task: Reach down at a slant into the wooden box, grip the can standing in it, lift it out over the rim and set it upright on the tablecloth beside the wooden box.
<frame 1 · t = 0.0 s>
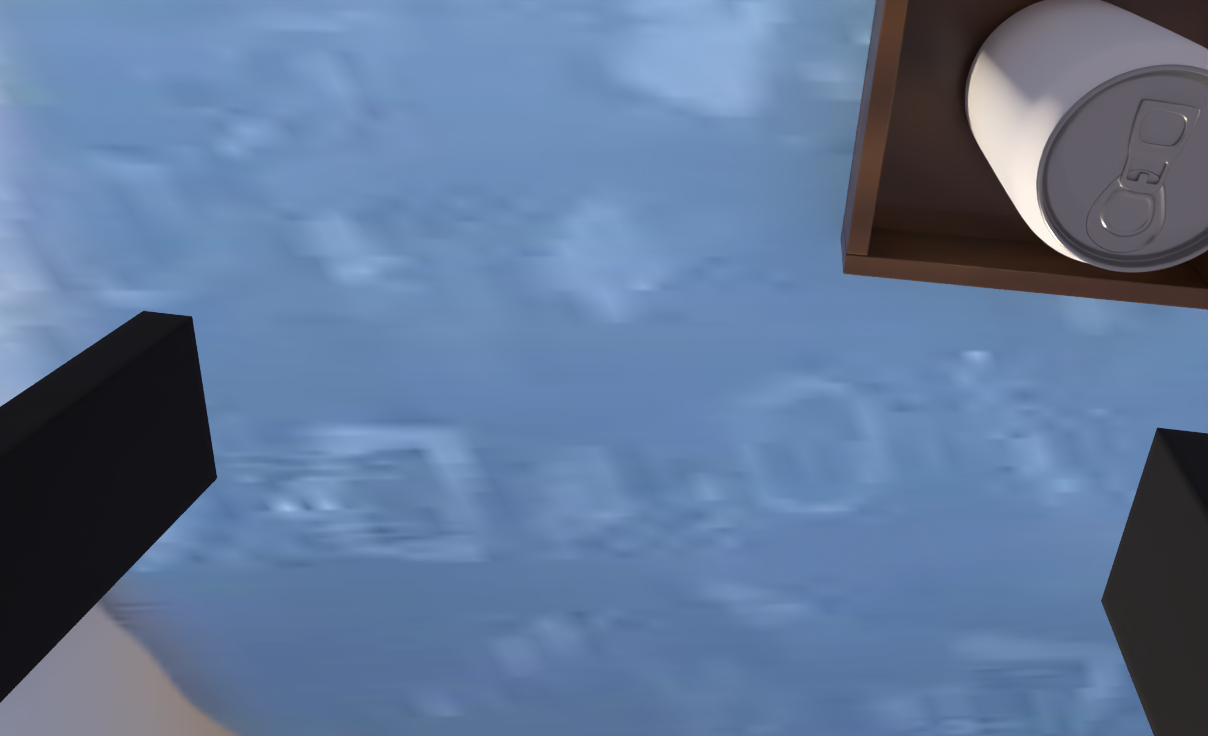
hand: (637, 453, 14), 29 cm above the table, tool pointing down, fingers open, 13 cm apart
wooden box: (1051, 83, 38), on the table
can: (1053, 85, 38), resting on wooden box
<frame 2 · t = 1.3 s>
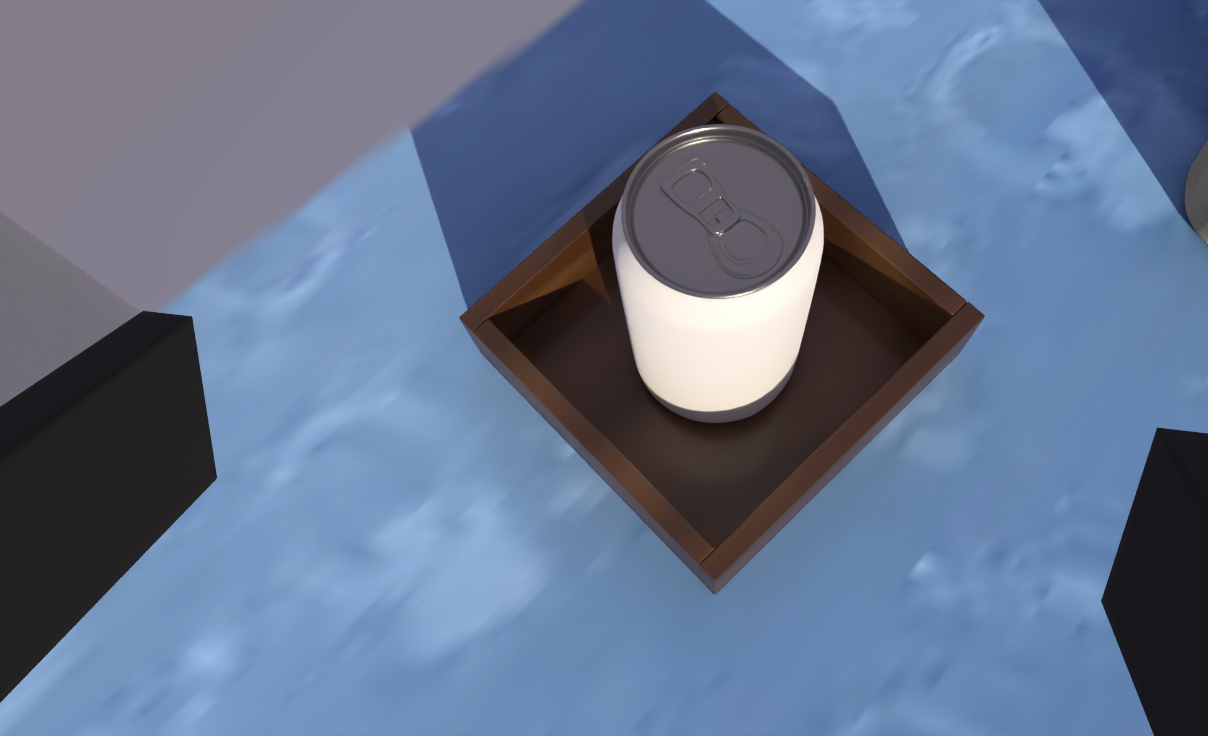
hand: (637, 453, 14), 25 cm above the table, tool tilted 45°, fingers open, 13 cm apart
wooden box: (714, 352, 41), on the table
can: (714, 350, 41), resting on wooden box
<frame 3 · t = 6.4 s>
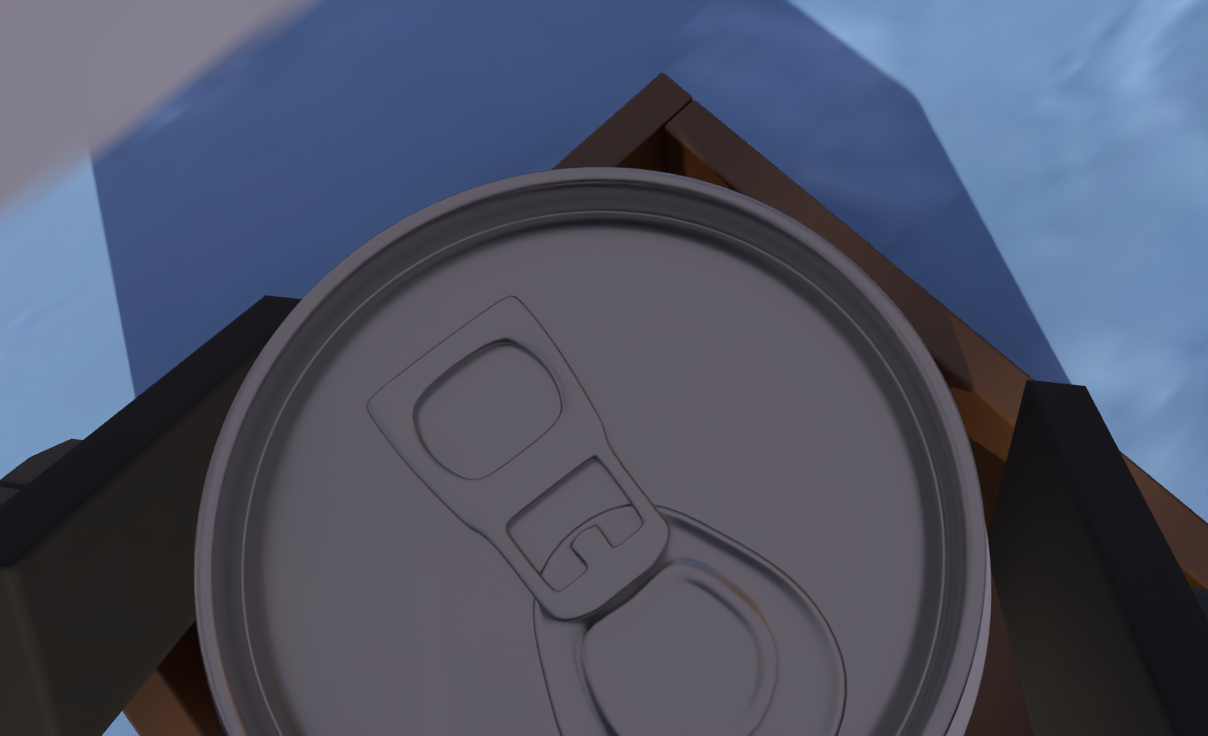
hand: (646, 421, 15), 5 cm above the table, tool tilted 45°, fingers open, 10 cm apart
wooden box: (667, 643, 19), on the table
can: (666, 641, 19), resting on wooden box
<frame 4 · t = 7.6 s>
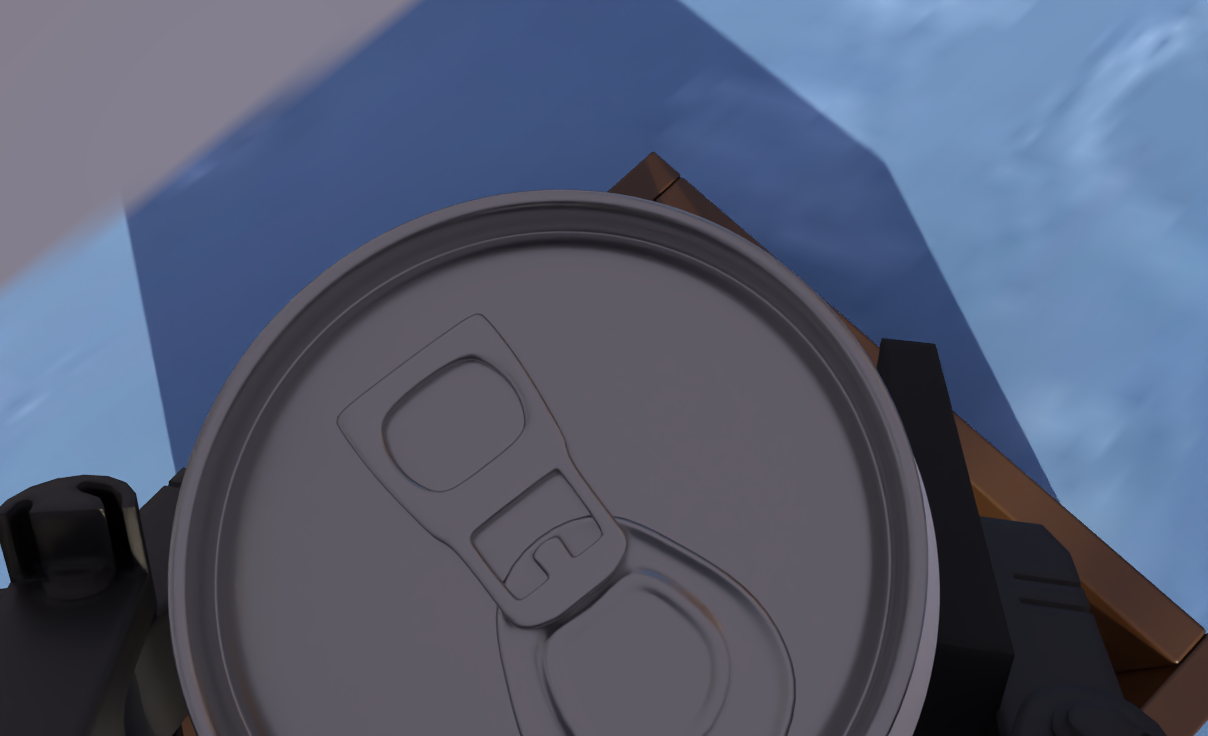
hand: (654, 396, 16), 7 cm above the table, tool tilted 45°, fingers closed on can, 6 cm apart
wooden box: (656, 665, 21), on the table
can: (642, 645, 19), point 2 cm above the table, touching gripper
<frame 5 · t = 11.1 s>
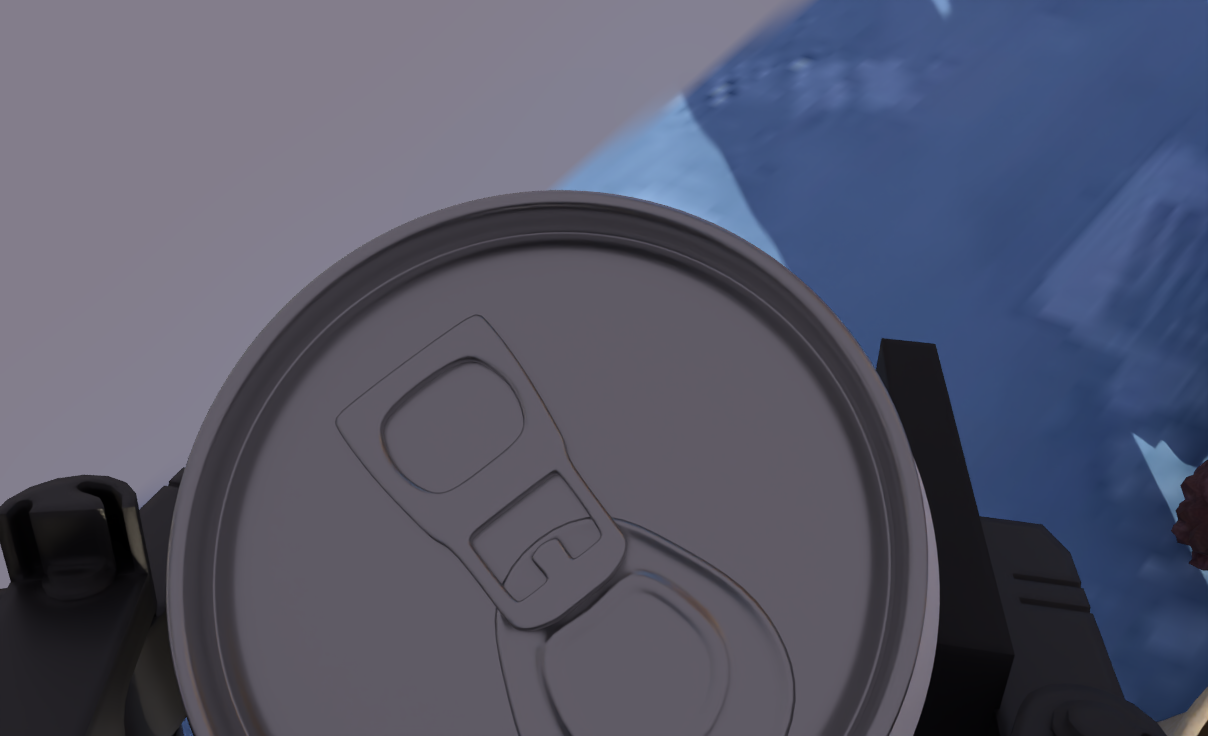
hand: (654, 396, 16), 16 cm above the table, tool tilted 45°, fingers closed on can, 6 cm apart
can: (641, 646, 19), point 11 cm above the table, touching gripper
when the fingers open (4 cm above the table, at t = 14.5 s): can stays where it is, on the table.
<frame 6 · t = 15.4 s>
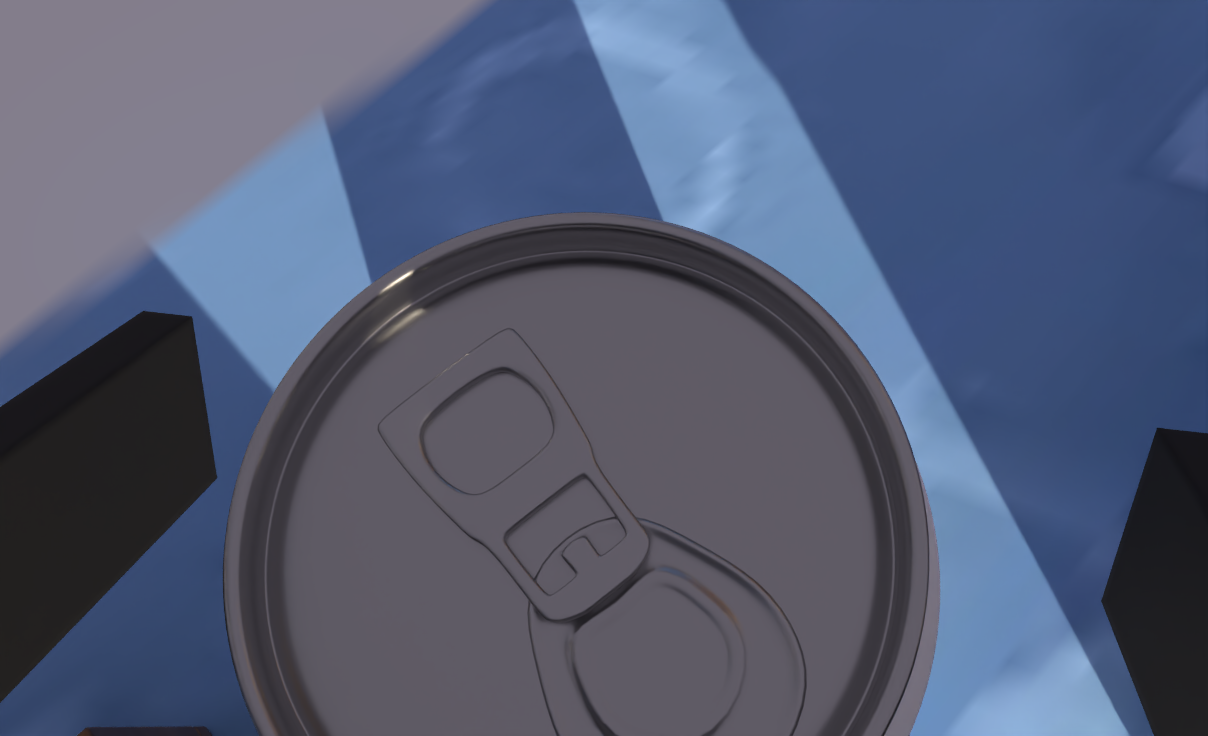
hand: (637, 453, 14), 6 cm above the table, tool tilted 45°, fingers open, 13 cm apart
can: (651, 643, 20), on the table
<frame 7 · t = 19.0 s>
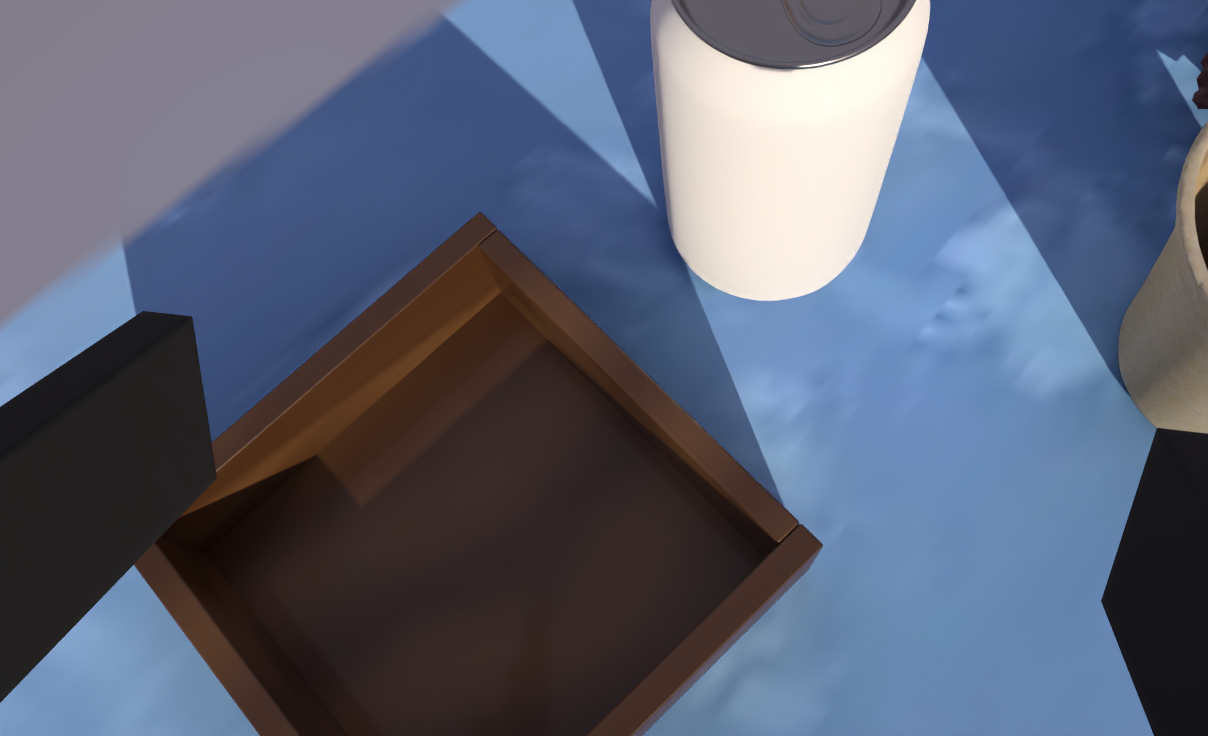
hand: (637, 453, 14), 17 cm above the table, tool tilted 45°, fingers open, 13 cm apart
wooden box: (484, 560, 31), on the table
can: (766, 218, 34), on the table
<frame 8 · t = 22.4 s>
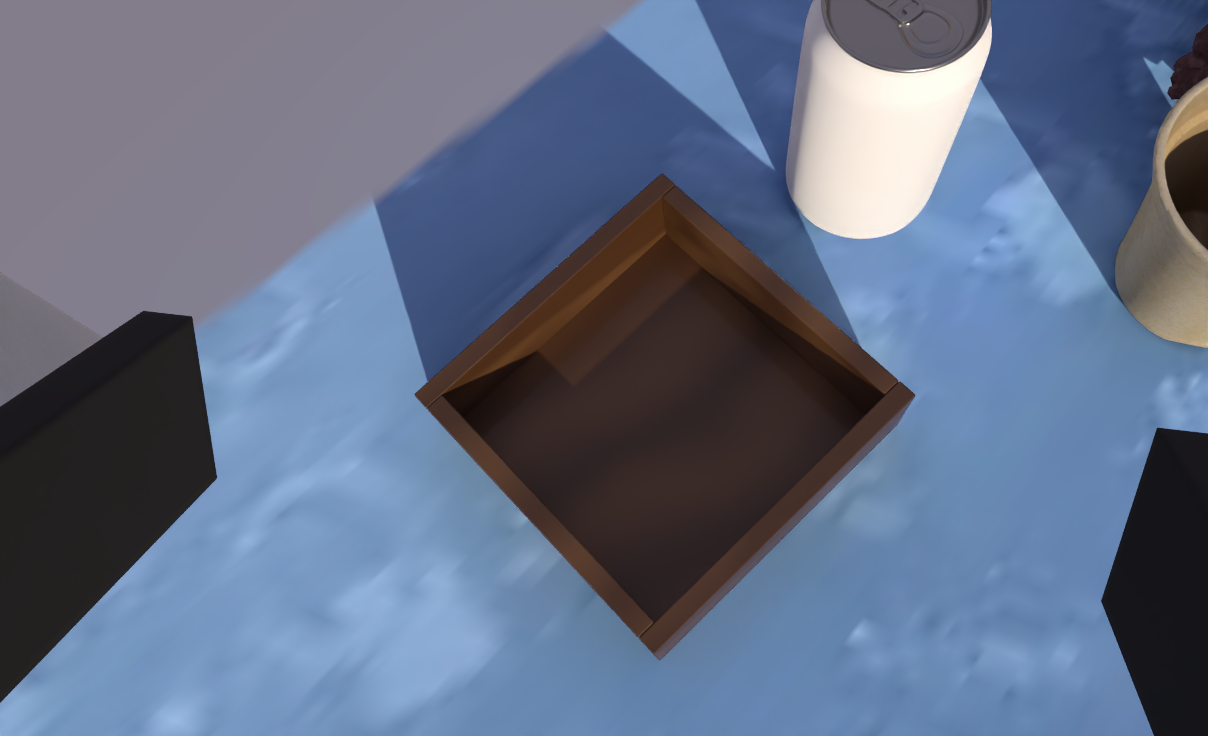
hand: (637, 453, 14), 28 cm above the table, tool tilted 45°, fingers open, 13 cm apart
flower pot: (1188, 280, 43), on the table
wooden box: (663, 423, 43), on the table
can: (857, 180, 46), on the table
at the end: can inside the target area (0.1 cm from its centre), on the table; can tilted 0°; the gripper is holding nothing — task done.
